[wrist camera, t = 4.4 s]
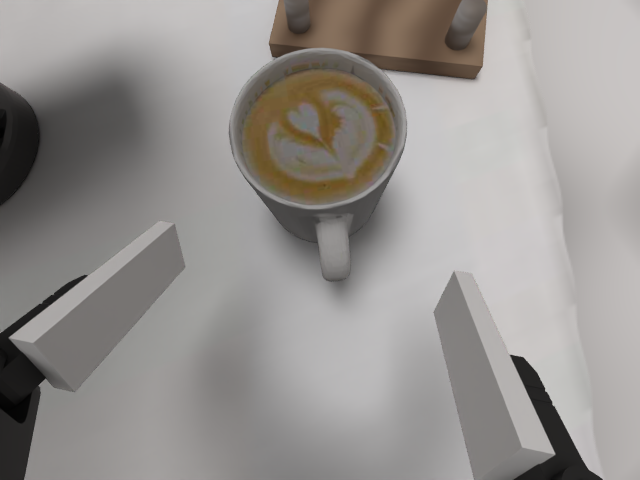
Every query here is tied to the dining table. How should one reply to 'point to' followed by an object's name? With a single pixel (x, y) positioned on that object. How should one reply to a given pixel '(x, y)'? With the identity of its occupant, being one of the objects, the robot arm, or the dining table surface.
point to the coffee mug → (319, 145)
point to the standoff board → (388, 32)
